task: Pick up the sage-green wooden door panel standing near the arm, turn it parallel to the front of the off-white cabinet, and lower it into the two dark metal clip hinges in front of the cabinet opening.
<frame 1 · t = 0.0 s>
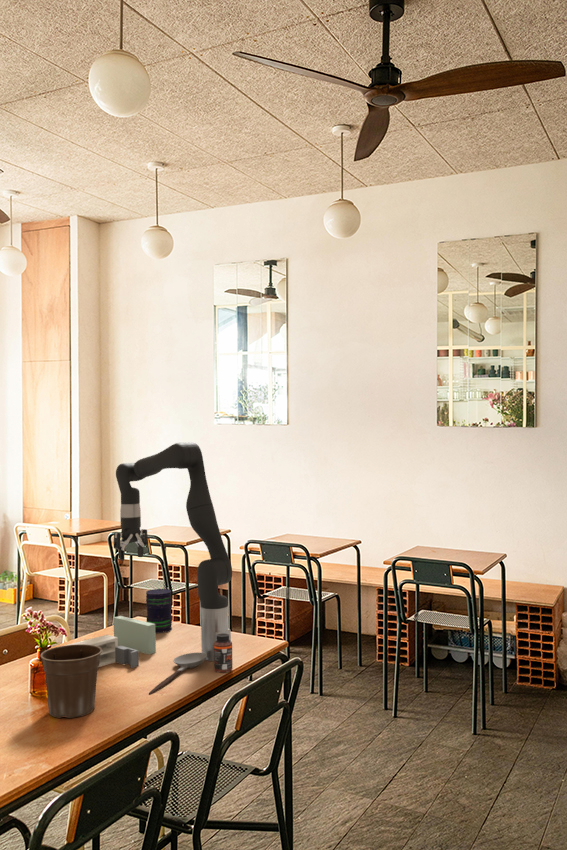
hand: (131, 558, 277), 29 cm above the table, fingers open, 8 cm apart
door: (134, 648, 260), on the table
supplement bottle: (223, 670, 233), on the table
cabinet: (87, 667, 239), on the table
spoon: (174, 678, 228), on the table
plant pot: (72, 711, 200), on the table
dark blue barrel: (159, 630, 285), on the table
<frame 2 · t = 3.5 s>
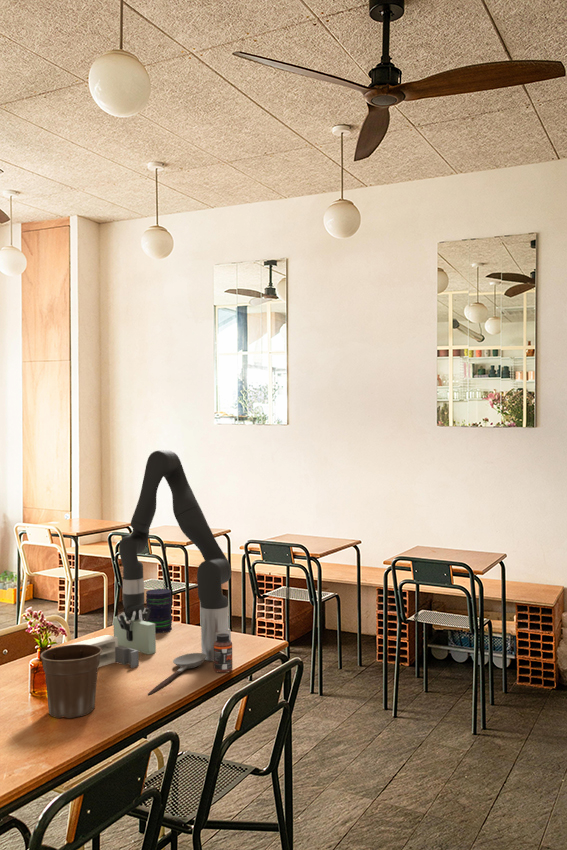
hand: (134, 639, 260), 3 cm above the table, fingers closed on door, 3 cm apart
door: (134, 648, 260), on the table, touching gripper
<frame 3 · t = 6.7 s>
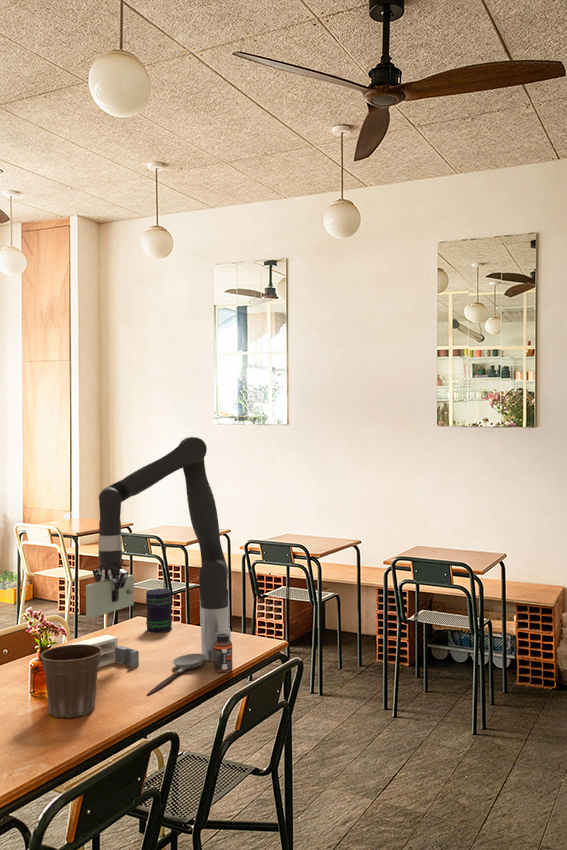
hand: (110, 600, 240), 21 cm above the table, fingers closed on door, 3 cm apart
door: (110, 610, 240), point 18 cm above the table, touching gripper
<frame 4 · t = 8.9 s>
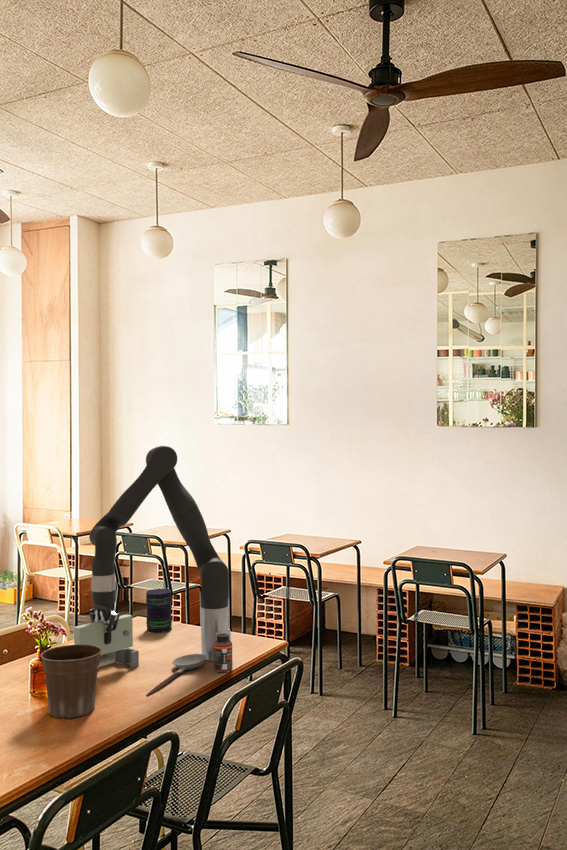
hand: (104, 642, 233), 10 cm above the table, fingers closed on door, 3 cm apart
door: (104, 652, 233), point 6 cm above the table, touching gripper
when the fingers open (4 cm above the table, at t = 10.3 s): door drops 1 cm, on the table.
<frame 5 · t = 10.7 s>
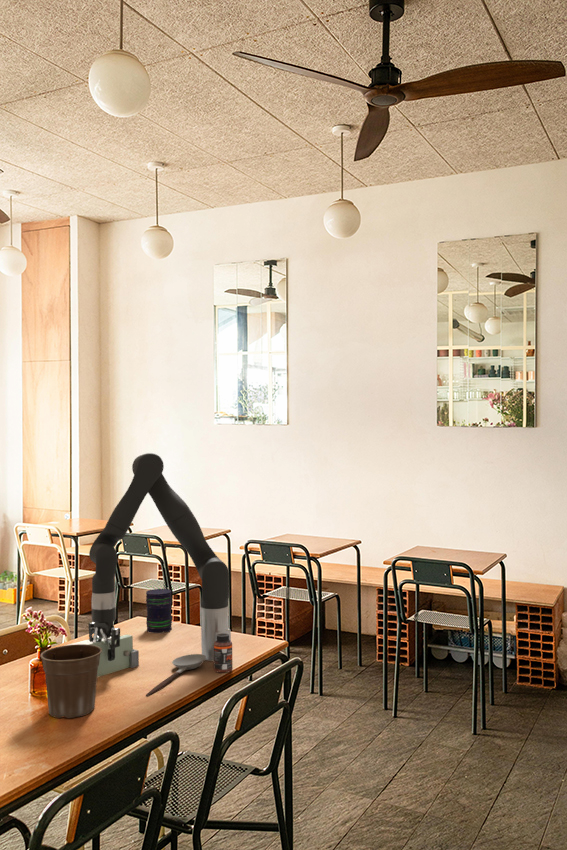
hand: (104, 658, 233), 5 cm above the table, fingers open, 6 cm apart
door: (104, 673, 233), on the table
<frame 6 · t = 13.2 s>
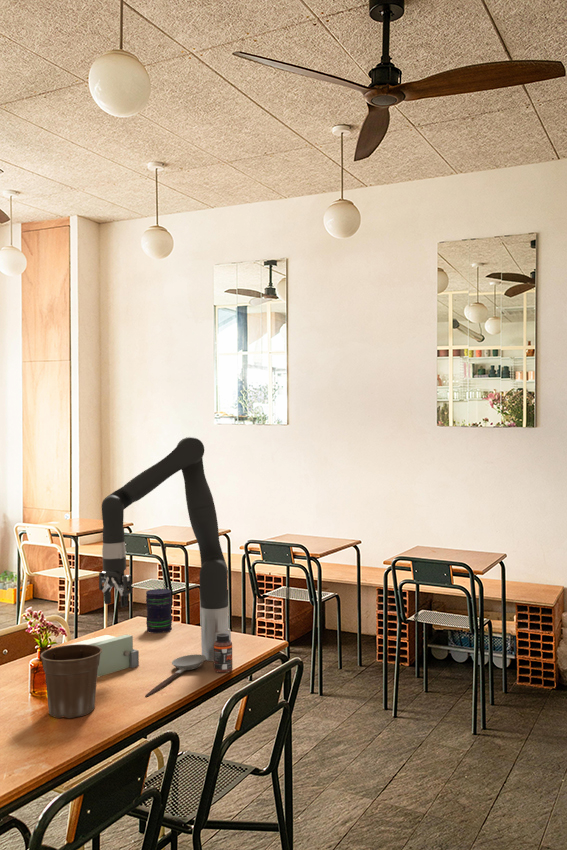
hand: (115, 605, 241), 20 cm above the table, fingers open, 8 cm apart
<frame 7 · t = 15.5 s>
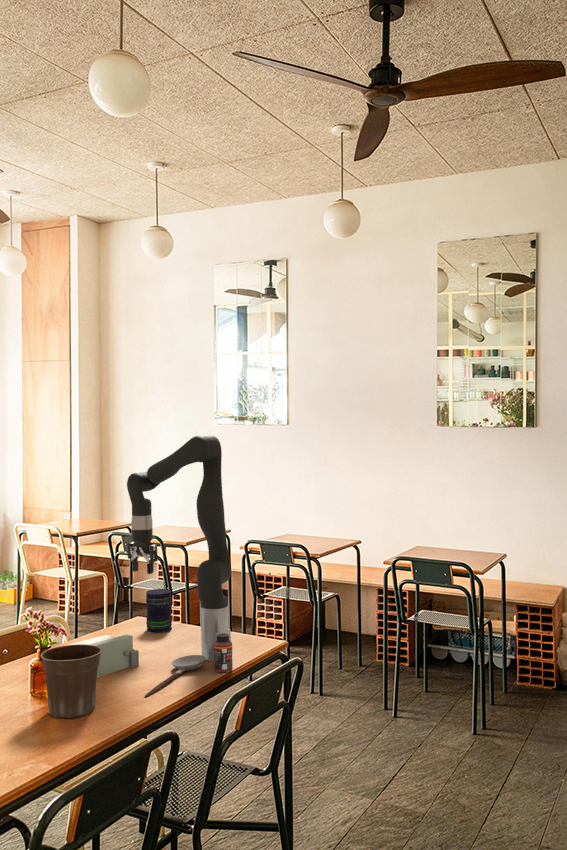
hand: (142, 572, 265), 26 cm above the table, fingers open, 8 cm apart
at the end: door 0.1 cm from the target spot on the cabinet, point 0.0 cm above the cabinet's base; door tilted 0°; the gripper is holding nothing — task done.
